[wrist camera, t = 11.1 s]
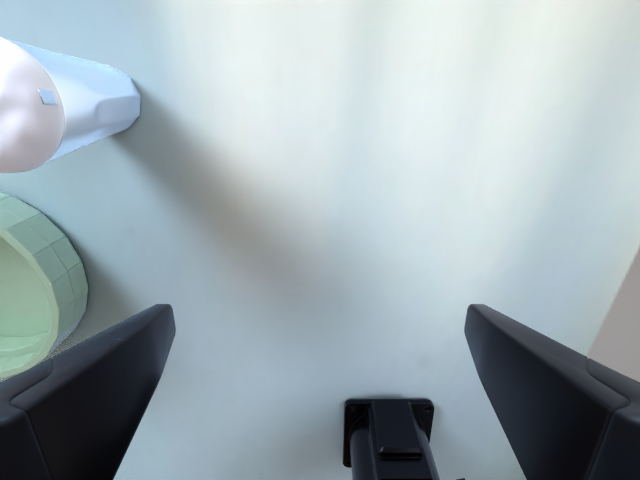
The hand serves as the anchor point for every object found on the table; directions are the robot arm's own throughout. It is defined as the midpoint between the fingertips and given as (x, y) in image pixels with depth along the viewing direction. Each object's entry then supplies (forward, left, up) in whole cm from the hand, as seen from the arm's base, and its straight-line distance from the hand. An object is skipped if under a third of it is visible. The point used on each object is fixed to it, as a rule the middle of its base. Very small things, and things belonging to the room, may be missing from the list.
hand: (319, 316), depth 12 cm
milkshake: (+6, +11, -12) cm, 17 cm away
